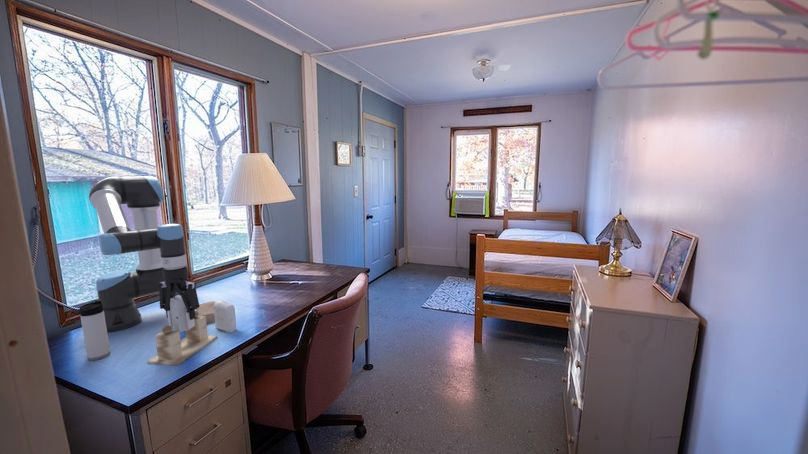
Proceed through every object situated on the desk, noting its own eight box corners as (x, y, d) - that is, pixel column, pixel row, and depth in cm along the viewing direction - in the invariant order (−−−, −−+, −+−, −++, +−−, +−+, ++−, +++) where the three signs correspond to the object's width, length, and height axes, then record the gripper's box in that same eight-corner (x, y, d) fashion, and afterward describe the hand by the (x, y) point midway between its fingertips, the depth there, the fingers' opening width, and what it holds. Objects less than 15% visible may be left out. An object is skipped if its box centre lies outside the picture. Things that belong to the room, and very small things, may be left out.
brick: (221, 320, 154) (220, 310, 153) (199, 325, 149) (198, 315, 148) (215, 309, 167) (215, 300, 166) (196, 313, 162) (195, 304, 161)
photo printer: (238, 329, 144) (235, 301, 142) (228, 333, 141) (226, 305, 139) (223, 324, 149) (220, 297, 147) (214, 328, 146) (211, 300, 144)
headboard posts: (147, 363, 119) (142, 329, 117) (190, 336, 139) (187, 306, 137) (177, 365, 117) (173, 331, 115) (217, 337, 137) (214, 308, 135)
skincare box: (172, 329, 126) (167, 297, 124) (185, 324, 130) (180, 294, 128) (179, 332, 123) (175, 300, 121) (192, 327, 126) (188, 296, 125)
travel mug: (115, 350, 128) (107, 300, 125) (100, 360, 121) (92, 307, 118) (98, 351, 127) (90, 300, 124) (82, 360, 121) (73, 307, 118)
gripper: (141, 269, 121) (149, 330, 124) (191, 270, 118) (198, 332, 121) (159, 263, 128) (167, 321, 132) (206, 264, 125) (213, 323, 129)
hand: (182, 326), depth 126 cm, fingers closed on skincare box, 7 cm apart
